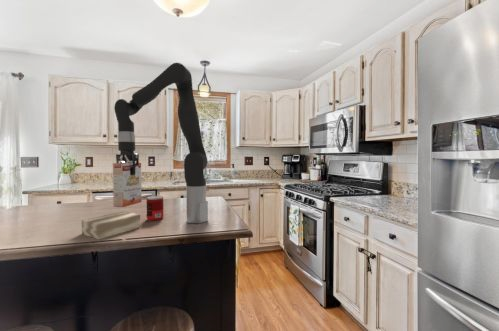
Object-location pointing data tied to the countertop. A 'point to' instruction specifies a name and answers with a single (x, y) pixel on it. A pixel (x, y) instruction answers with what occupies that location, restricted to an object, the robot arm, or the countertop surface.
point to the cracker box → (126, 185)
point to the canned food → (154, 208)
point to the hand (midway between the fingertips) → (127, 174)
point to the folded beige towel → (110, 224)
